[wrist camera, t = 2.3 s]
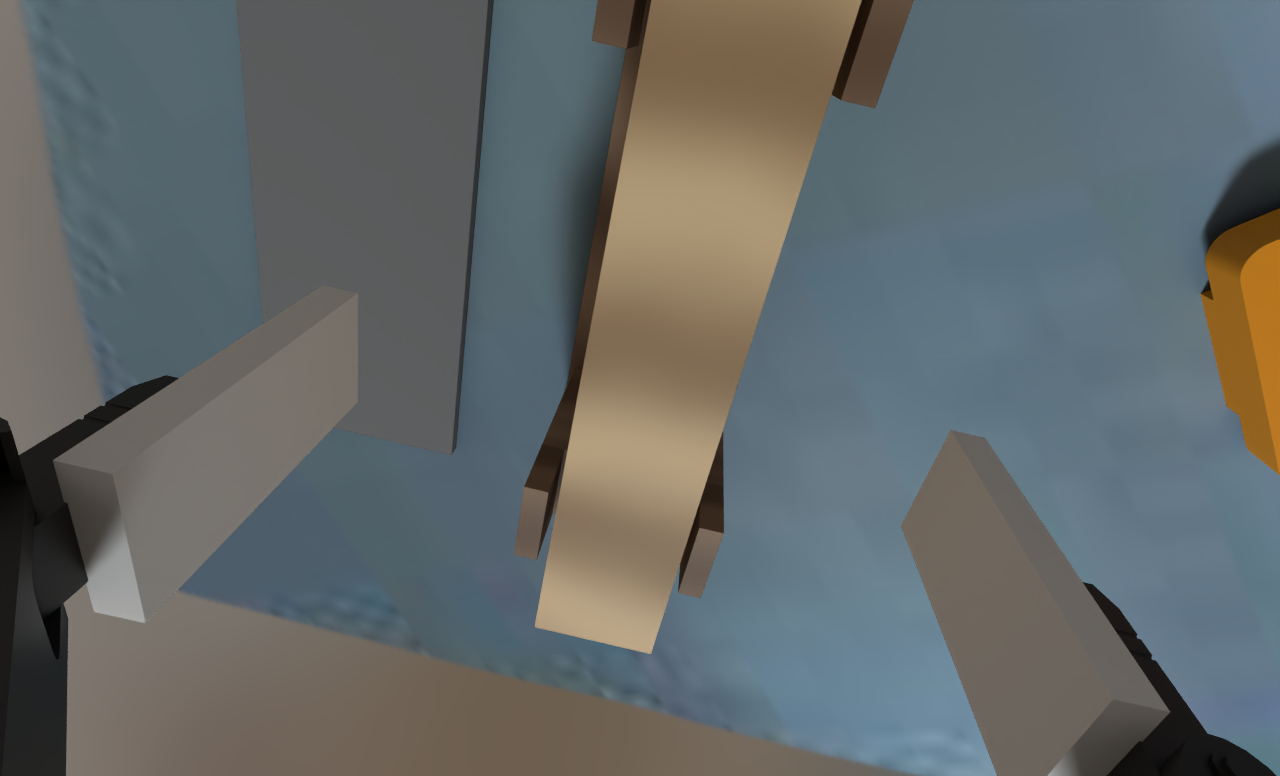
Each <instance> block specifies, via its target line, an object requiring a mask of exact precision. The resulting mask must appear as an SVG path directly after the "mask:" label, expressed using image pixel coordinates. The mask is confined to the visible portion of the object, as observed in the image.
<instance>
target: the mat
mask: <svg viewBox="0 0 1280 776" xmlns="http://www.w3.org/2000/svg"><path fill="white" fill-rule="evenodd" d="M236 1H237V14H238V26H239V38H240V50H241V62H242V74H243V86H244V98H245V110H246V122H247V134H248V147H249V159H250V171H251V183H252V195H253V207H254V219H255V231H256V243H257V255H258V267H259V280H260V292H261V304H262V316H263V324H264V323H265V322H267V321H268V320H270V319H271V318H273V317H274V316H276V315H278V314H279V313H281V312H282V311H284V310H285V309H287V308H288V307H290V306H291V305H293V304H295V303H296V302H298V301H299V300H301V299H302V298H304V297H305V296H307V295H308V294H310V293H311V292H313V291H315V290H316V289H318V288H319V287H321V286H322V285H324V286H329V287H333V288H337V289H342V290H346V291H350V292H355V293H358V402H357V403H356V404H355V405H354V406H353V407H352V409H351V410H350V411H349V412H348V413H347V414H346V415H345V416H344V417H343V418H342V419H341V420H340V421H339V422H338V423H337V424H336V425H335V426H334V427H333V428H337V429H342V430H346V431H350V432H354V433H359V434H363V435H367V436H371V437H376V438H380V439H384V440H389V441H393V442H397V443H401V444H406V445H410V446H414V447H419V448H423V449H427V450H431V451H436V452H440V453H444V454H448V455H452V454H453V452H454V450H455V449H456V440H457V428H458V416H459V404H460V392H461V380H462V368H463V356H464V344H465V332H466V321H467V309H468V297H469V285H470V273H471V261H472V249H473V237H474V225H475V213H476V201H477V189H478V177H479V166H480V154H481V142H482V130H483V118H484V106H485V94H486V82H487V70H488V58H489V46H490V34H491V22H492V11H493V0H236Z"/></svg>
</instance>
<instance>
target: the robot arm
mask: <svg viewBox="0 0 1280 776" xmlns="http://www.w3.org/2000/svg"><path fill="white" fill-rule="evenodd" d="M357 402H358V293H355V292H350V291H346V290H342V289H337V288H333V287H329V286H324V285H322V286H321V287H319V288H318V289H316V290H315V291H313V292H311V293H310V294H308V295H307V296H305V297H304V298H302V299H301V300H299V301H298V302H296V303H295V304H293V305H291V306H290V307H288V308H287V309H285V310H284V311H282V312H281V313H279V314H278V315H276V316H274V317H273V318H271V319H270V320H268V321H267V322H265V323H264V324H262V325H261V326H259V327H258V328H256V329H254V330H253V331H251V332H250V333H248V334H247V335H245V336H244V337H242V338H241V339H239V340H238V341H236V342H234V343H233V344H231V345H230V346H228V347H227V348H225V349H224V350H222V351H221V352H219V353H217V354H216V355H214V356H213V357H211V358H210V359H208V360H207V361H205V362H204V363H202V364H201V365H199V366H197V367H196V368H194V369H193V370H191V371H190V372H188V373H187V374H185V375H184V376H182V377H180V378H176V377H171V376H167V375H166V376H163V377H160V378H157V379H153V380H150V381H147V382H144V383H141V384H138V385H135V386H132V387H130V388H129V389H127V390H125V391H124V392H122V393H120V394H119V395H117V396H116V397H114V398H112V399H111V400H109V401H107V402H106V404H105V406H99V407H97V408H96V409H94V410H93V411H91V412H89V413H88V414H86V415H84V419H83V420H81V419H78V420H76V421H75V422H73V423H72V424H70V425H68V426H66V427H65V428H63V429H61V430H60V431H58V432H57V433H55V434H53V435H52V436H50V437H48V438H47V439H45V440H43V441H42V442H40V443H38V444H37V445H35V446H34V447H32V448H30V449H29V450H27V451H25V452H24V453H22V454H20V455H18V451H17V448H16V445H15V441H14V438H13V435H12V431H11V429H10V426H9V424H8V421H6V420H4V419H2V418H0V776H66V730H67V728H66V727H67V725H66V724H67V723H66V722H67V659H68V655H67V654H68V617H67V614H66V610H65V607H64V604H63V603H64V602H65V601H66V600H67V599H68V598H70V597H71V596H72V595H73V594H74V593H75V592H77V591H78V590H79V589H80V588H81V587H82V586H83V585H84V584H85V583H86V584H87V588H88V591H89V595H90V599H91V602H92V606H93V610H94V612H98V613H102V614H106V615H111V616H115V617H120V618H124V619H129V620H133V621H138V622H142V623H146V622H147V621H148V620H149V619H150V618H151V617H152V616H153V615H154V614H155V613H156V612H157V611H158V610H159V609H160V608H161V607H162V606H163V605H164V603H166V602H167V600H168V599H169V598H170V597H171V596H172V595H173V594H174V593H175V592H176V591H177V590H178V589H179V588H180V587H181V586H182V585H183V584H184V583H185V582H186V581H187V580H188V579H189V578H190V577H191V575H192V574H193V573H194V572H195V571H196V570H197V569H198V568H199V567H200V566H201V565H202V564H203V563H204V562H205V561H206V560H207V559H208V558H209V557H210V556H211V555H212V554H213V553H214V551H215V550H216V549H217V548H218V547H219V546H220V545H221V544H222V543H223V542H224V541H225V540H226V539H227V538H228V537H229V536H230V535H231V534H232V533H233V532H234V531H235V530H236V529H237V527H238V526H239V525H240V524H241V523H242V522H243V521H244V520H245V519H246V518H247V517H248V516H249V515H250V514H251V513H252V512H253V511H254V510H255V509H256V508H257V507H258V506H259V505H260V503H261V502H262V501H263V500H264V499H265V498H266V497H267V496H268V495H269V494H270V493H271V492H272V491H273V490H274V489H275V488H276V487H277V486H278V485H279V484H280V483H281V482H282V481H283V479H284V478H285V477H286V476H287V475H288V474H289V473H290V472H291V471H292V470H293V469H294V468H295V467H296V466H297V465H298V464H299V463H300V462H301V461H302V460H303V459H304V458H305V457H306V455H307V454H308V453H309V452H310V451H311V450H312V449H313V448H314V447H315V446H316V445H317V444H318V443H319V442H320V441H321V440H322V439H323V438H324V437H325V436H326V435H327V434H328V433H329V431H330V430H331V429H332V428H333V427H334V426H335V425H336V424H337V423H338V422H339V421H340V420H341V419H342V418H343V417H344V416H345V415H346V414H347V413H348V412H349V411H350V410H351V409H352V407H353V406H354V405H355V404H356V403H357ZM901 527H902V530H903V532H904V535H905V537H906V540H907V543H908V545H909V548H910V550H911V553H912V556H913V558H914V561H915V563H916V566H917V569H918V571H919V574H920V576H921V579H922V582H923V584H924V587H925V589H926V592H927V595H928V597H929V600H930V602H931V605H932V608H933V610H934V613H935V615H936V618H937V620H938V623H939V626H940V628H941V631H942V633H943V636H944V639H945V641H946V644H947V646H948V649H949V652H950V654H951V657H952V659H953V662H954V665H955V667H956V670H957V672H958V675H959V678H960V680H961V683H962V685H963V688H964V691H965V693H966V696H967V698H968V701H969V704H970V706H971V709H972V711H973V714H974V717H975V719H976V722H977V724H978V727H979V729H980V732H981V735H982V737H983V740H984V742H985V745H986V748H987V750H988V753H989V755H990V758H991V761H992V763H993V766H994V768H995V771H996V774H997V776H1276V775H1275V774H1274V773H1273V772H1272V771H1271V770H1270V769H1269V768H1268V767H1267V766H1266V765H1264V764H1263V763H1262V762H1260V761H1259V760H1258V759H1256V758H1255V757H1254V756H1252V755H1251V754H1250V753H1248V752H1247V751H1246V750H1244V749H1242V748H1240V747H1238V746H1236V745H1235V744H1233V743H1231V742H1229V741H1227V740H1225V739H1223V738H1220V737H1216V736H1213V735H1210V734H1207V732H1206V731H1205V729H1204V728H1203V726H1202V725H1201V724H1200V722H1199V721H1198V719H1197V718H1196V717H1195V715H1194V714H1193V712H1192V711H1191V710H1190V708H1189V707H1188V705H1187V704H1186V703H1185V701H1184V700H1183V698H1182V697H1181V695H1180V694H1179V693H1178V691H1177V690H1176V688H1175V687H1174V686H1173V684H1172V683H1171V681H1170V680H1169V679H1168V677H1167V676H1166V674H1165V673H1164V671H1163V670H1162V669H1161V667H1160V666H1159V664H1158V663H1157V662H1156V661H1155V660H1152V659H1151V657H1152V655H1151V653H1150V652H1149V650H1148V649H1147V647H1146V646H1145V645H1144V643H1143V642H1142V640H1141V639H1137V633H1136V632H1135V631H1134V629H1133V628H1132V626H1131V625H1130V623H1129V622H1128V621H1127V619H1126V618H1125V616H1124V615H1123V614H1122V612H1121V611H1120V609H1119V608H1118V607H1117V606H1115V605H1114V604H1113V603H1112V602H1111V601H1110V600H1109V599H1108V598H1107V597H1106V596H1105V595H1103V594H1102V593H1101V592H1100V591H1099V590H1098V589H1097V588H1096V587H1095V586H1094V585H1093V584H1088V583H1084V582H1082V581H1081V579H1080V578H1079V576H1078V575H1077V573H1076V572H1075V570H1074V569H1073V567H1072V566H1071V564H1070V563H1069V562H1068V560H1067V559H1066V557H1065V556H1064V554H1063V553H1062V551H1061V550H1060V548H1059V547H1058V545H1057V544H1056V542H1055V541H1054V539H1053V538H1052V536H1051V535H1050V533H1049V532H1048V530H1047V529H1046V528H1045V526H1044V525H1043V523H1042V522H1041V520H1040V519H1039V517H1038V516H1037V514H1036V513H1035V511H1034V510H1033V508H1032V507H1031V505H1030V504H1029V502H1028V501H1027V499H1026V498H1025V496H1024V495H1023V494H1022V492H1021V491H1020V489H1019V488H1018V486H1017V485H1016V483H1015V482H1014V480H1013V479H1012V477H1011V476H1010V474H1009V473H1008V471H1007V470H1006V468H1005V467H1004V465H1003V464H1002V462H1001V461H1000V459H999V458H998V457H997V455H996V454H995V452H994V451H993V449H992V448H991V446H990V445H989V443H988V442H987V440H986V439H985V438H983V437H979V436H974V435H970V434H966V433H961V432H957V431H953V430H951V431H950V433H949V435H948V436H947V438H946V440H945V442H944V444H943V446H942V448H941V450H940V452H939V454H938V456H937V458H936V460H935V462H934V463H933V465H932V467H931V469H930V471H929V473H928V475H927V477H926V479H925V481H924V483H923V485H922V487H921V488H920V490H919V492H918V494H917V496H916V498H915V500H914V502H913V504H912V506H911V508H910V510H909V512H908V514H907V515H906V517H905V519H904V521H903V523H902V525H901Z"/></svg>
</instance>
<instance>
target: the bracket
mask: <svg viewBox="0 0 1280 776" xmlns="http://www.w3.org/2000/svg"><path fill="white" fill-rule="evenodd" d="M913 1H914V0H862V1H861V4H860V7H859V10H858V13H857V16H856V19H855V23H854V26H853V29H852V32H851V35H850V38H849V41H848V44H847V47H846V50H845V54H844V57H843V60H842V63H841V66H840V69H839V72H838V75H837V78H836V81H835V85H834V88H833V91H832V95H833V96H835V97H837V98H838V99H840V100H842V101H846V102H850V103H855V104H859V105H863V106H867V107H871V108H876V105H877V102H878V99H879V96H880V94H881V91H882V88H883V85H884V82H885V80H886V77H887V74H888V71H889V68H890V65H891V63H892V60H893V57H894V54H895V51H896V49H897V46H898V43H899V40H900V37H901V35H902V32H903V29H904V26H905V23H906V21H907V18H908V15H909V12H910V9H911V7H912V4H913ZM650 5H651V0H598V4H597V10H596V17H595V24H594V30H593V37H592V41H595V42H599V43H603V44H607V45H612V46H616V47H620V48H624V49H626V53H625V58H624V64H623V70H622V76H621V81H620V87H619V93H618V98H617V104H616V110H615V115H614V121H613V127H612V133H611V138H610V144H609V150H608V155H607V161H606V167H605V172H604V178H603V184H602V189H601V195H600V201H599V207H598V212H597V218H596V224H595V229H594V235H593V241H592V246H591V252H590V258H589V264H588V269H587V275H586V281H585V286H584V292H583V298H582V303H581V309H580V315H579V321H578V326H577V332H576V338H575V343H574V349H573V355H572V360H571V366H570V372H569V378H568V383H567V388H566V390H565V392H564V395H563V397H562V399H561V402H560V404H559V406H558V409H557V411H556V413H555V416H554V418H553V420H552V423H551V425H550V427H549V430H548V432H547V435H546V437H545V439H544V442H543V444H542V446H541V449H540V451H539V453H538V456H537V458H536V460H535V463H534V465H533V467H532V470H531V472H530V474H529V477H528V479H527V481H526V484H525V486H524V492H523V498H522V505H521V511H520V518H519V525H518V531H517V538H516V544H515V551H514V555H518V556H522V557H527V558H531V559H535V560H537V557H538V554H539V551H540V549H541V546H542V543H543V540H544V537H545V534H546V531H547V528H548V525H549V522H550V520H551V517H552V514H553V513H554V514H556V510H557V504H558V499H559V494H560V488H561V483H562V478H563V472H564V467H565V461H566V456H567V451H568V445H569V440H570V435H571V429H572V424H573V418H574V413H575V408H576V402H577V397H578V392H579V386H580V381H581V376H582V370H583V365H584V359H585V354H586V349H587V343H588V338H589V333H590V327H591V322H592V317H593V311H594V306H595V300H596V295H597V290H598V284H599V279H600V274H601V268H602V263H603V257H604V252H605V247H606V241H607V236H608V231H609V225H610V220H611V215H612V209H613V204H614V198H615V193H616V188H617V182H618V177H619V172H620V166H621V161H622V156H623V150H624V145H625V139H626V134H627V129H628V123H629V118H630V113H631V107H632V102H633V96H634V91H635V86H636V80H637V75H638V70H639V64H640V59H641V54H642V48H643V43H644V37H645V32H646V27H647V21H648V16H649V11H650ZM723 534H724V496H723V432H722V435H721V438H720V441H719V444H718V447H717V450H716V453H715V456H714V460H713V463H712V466H711V469H710V472H709V475H708V478H707V481H706V484H705V487H704V491H703V494H702V497H701V500H700V503H699V506H698V509H697V512H696V515H695V518H694V522H693V525H692V528H691V531H690V534H689V537H688V540H687V543H686V546H685V549H684V553H683V556H682V559H681V562H680V574H679V587H678V593H681V594H685V595H690V596H694V597H698V598H701V596H702V593H703V590H704V587H705V585H706V582H707V579H708V576H709V573H710V571H711V568H712V565H713V562H714V559H715V557H716V554H717V551H718V548H719V545H720V543H721V540H722V537H723Z"/></svg>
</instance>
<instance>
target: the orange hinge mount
mask: <svg viewBox="0 0 1280 776" xmlns="http://www.w3.org/2000/svg"><path fill="white" fill-rule="evenodd" d="M1205 264H1206V269H1207V273H1208V278H1209V282H1210V287H1211V290H1209V291H1206V292H1204V293H1201V297H1202V301H1203V306H1204V310H1205V315H1206V319H1207V323H1208V328H1209V332H1210V336H1211V341H1212V345H1213V349H1214V354H1215V358H1216V362H1217V367H1218V371H1219V375H1220V380H1221V384H1222V388H1223V393H1224V397H1225V401H1226V406H1227V407H1228V408H1230V409H1231V410H1232V411H1234V412H1235V413H1236V414H1238V415H1239V417H1240V421H1241V426H1242V430H1243V435H1244V439H1245V444H1246V447H1247V449H1248V450H1249V451H1250V452H1251V453H1253V454H1254V455H1255V456H1256V457H1258V458H1259V459H1260V460H1261V461H1263V462H1264V463H1265V464H1266V465H1268V466H1269V467H1270V468H1271V469H1273V470H1274V471H1275V472H1276V473H1278V474H1279V475H1280V208H1279V209H1277V210H1274V211H1272V212H1269V213H1267V214H1265V215H1262V216H1260V217H1257V218H1255V219H1252V220H1250V221H1248V222H1245V223H1243V224H1240V225H1238V226H1236V227H1233V228H1231V229H1229V230H1227V231H1226V232H1224V233H1223V234H1221V235H1220V236H1219V237H1218V238H1217V239H1216V240H1215V241H1214V242H1213V243H1212V245H1211V246H1210V248H1209V249H1208V252H1207V254H1206V259H1205Z"/></svg>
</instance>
